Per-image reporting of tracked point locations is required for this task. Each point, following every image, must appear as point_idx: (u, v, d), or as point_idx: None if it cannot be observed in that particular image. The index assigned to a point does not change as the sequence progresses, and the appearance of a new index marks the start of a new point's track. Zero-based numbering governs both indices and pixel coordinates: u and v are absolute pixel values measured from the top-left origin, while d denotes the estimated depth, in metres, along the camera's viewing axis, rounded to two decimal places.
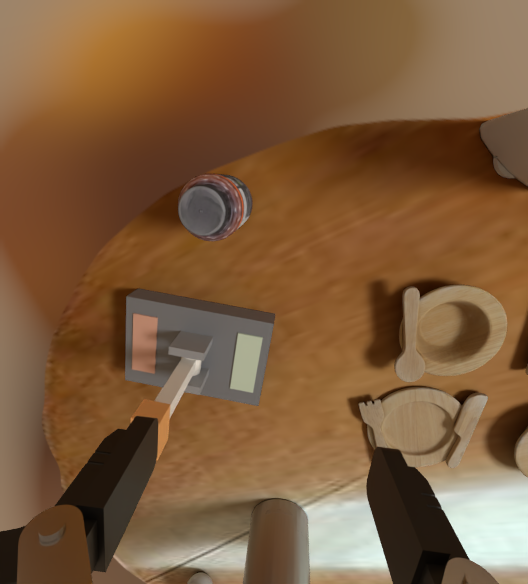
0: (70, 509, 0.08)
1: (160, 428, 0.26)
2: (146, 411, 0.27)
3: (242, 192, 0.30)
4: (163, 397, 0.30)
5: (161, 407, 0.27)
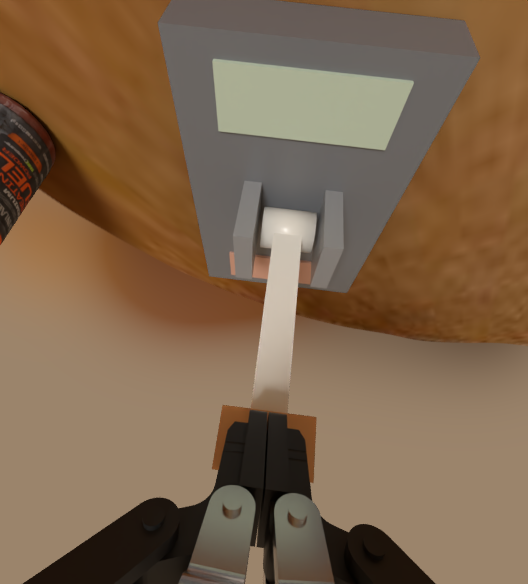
0: (238, 489, 0.09)
1: None
2: None
3: None
4: None
5: None
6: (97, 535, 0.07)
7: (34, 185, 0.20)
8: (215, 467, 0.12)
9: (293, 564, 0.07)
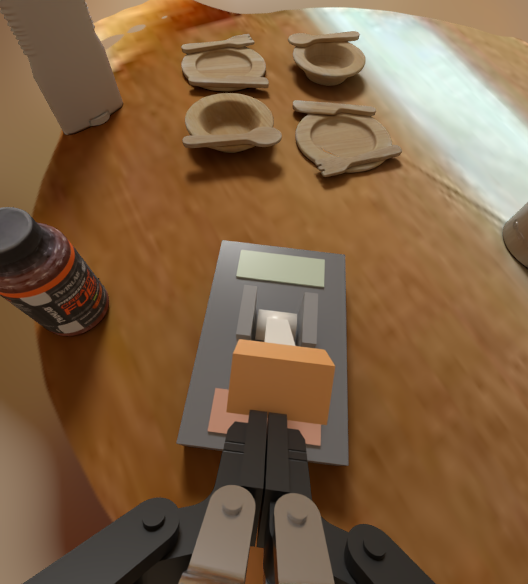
0: (238, 489, 0.09)
1: (254, 354, 0.13)
2: None
3: None
4: None
5: None
6: (97, 535, 0.07)
7: (85, 306, 0.26)
8: (236, 353, 0.12)
9: (293, 564, 0.07)
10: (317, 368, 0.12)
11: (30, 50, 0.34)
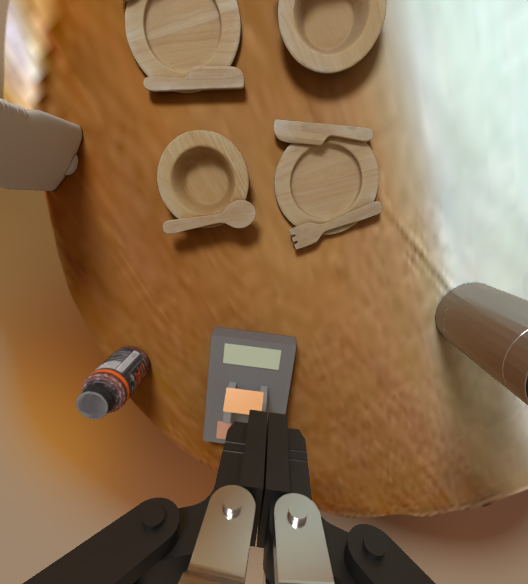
0: (238, 489, 0.09)
1: None
2: None
3: (101, 365, 0.43)
4: None
5: None
6: (97, 535, 0.07)
7: None
8: None
9: (293, 564, 0.07)
10: (257, 392, 0.34)
11: None
